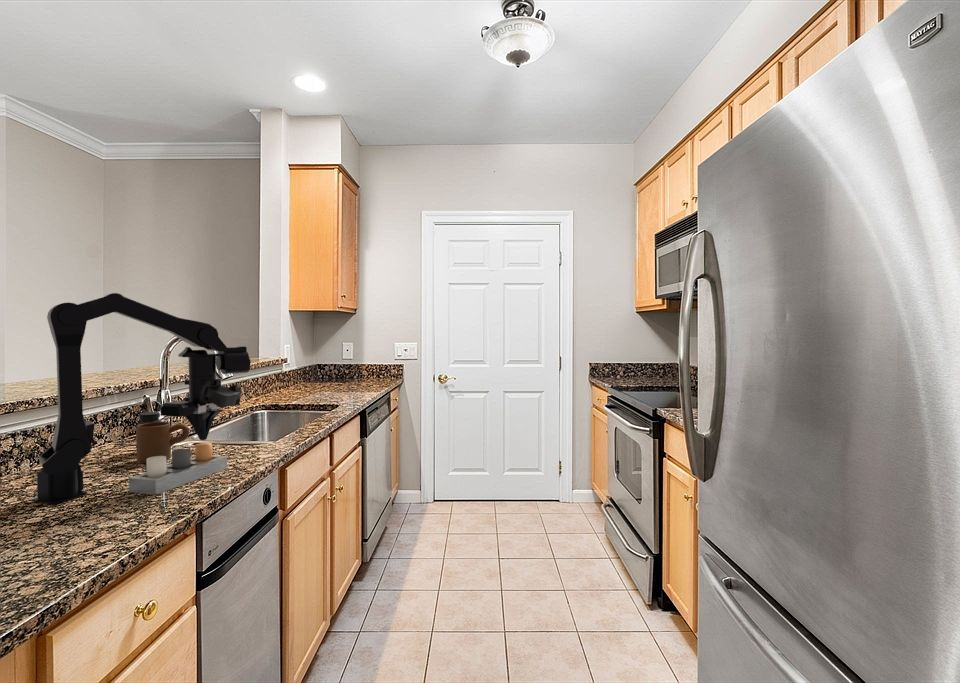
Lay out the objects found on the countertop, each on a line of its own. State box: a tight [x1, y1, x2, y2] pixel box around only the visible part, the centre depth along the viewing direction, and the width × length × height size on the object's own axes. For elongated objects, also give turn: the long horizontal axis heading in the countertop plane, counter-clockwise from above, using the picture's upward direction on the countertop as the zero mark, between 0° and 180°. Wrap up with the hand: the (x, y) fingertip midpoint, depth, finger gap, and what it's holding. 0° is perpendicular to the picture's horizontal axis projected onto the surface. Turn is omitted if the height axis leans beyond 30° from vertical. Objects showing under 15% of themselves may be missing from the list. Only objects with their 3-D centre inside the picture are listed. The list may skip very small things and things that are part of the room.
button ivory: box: [146, 456, 168, 478], centre depth 107 cm, size 4×4×4 cm
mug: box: [135, 421, 190, 464], centre depth 131 cm, size 12×8×9 cm, turn 112°
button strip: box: [128, 454, 228, 496], centre depth 113 cm, size 20×7×3 cm, turn 166°
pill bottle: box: [136, 411, 163, 427], centre depth 138 cm, size 6×6×11 cm
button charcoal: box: [171, 448, 192, 470], centre depth 113 cm, size 4×4×4 cm
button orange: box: [194, 442, 213, 462], centre depth 119 cm, size 4×4×4 cm
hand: (203, 439), depth 119 cm, fingers closed
